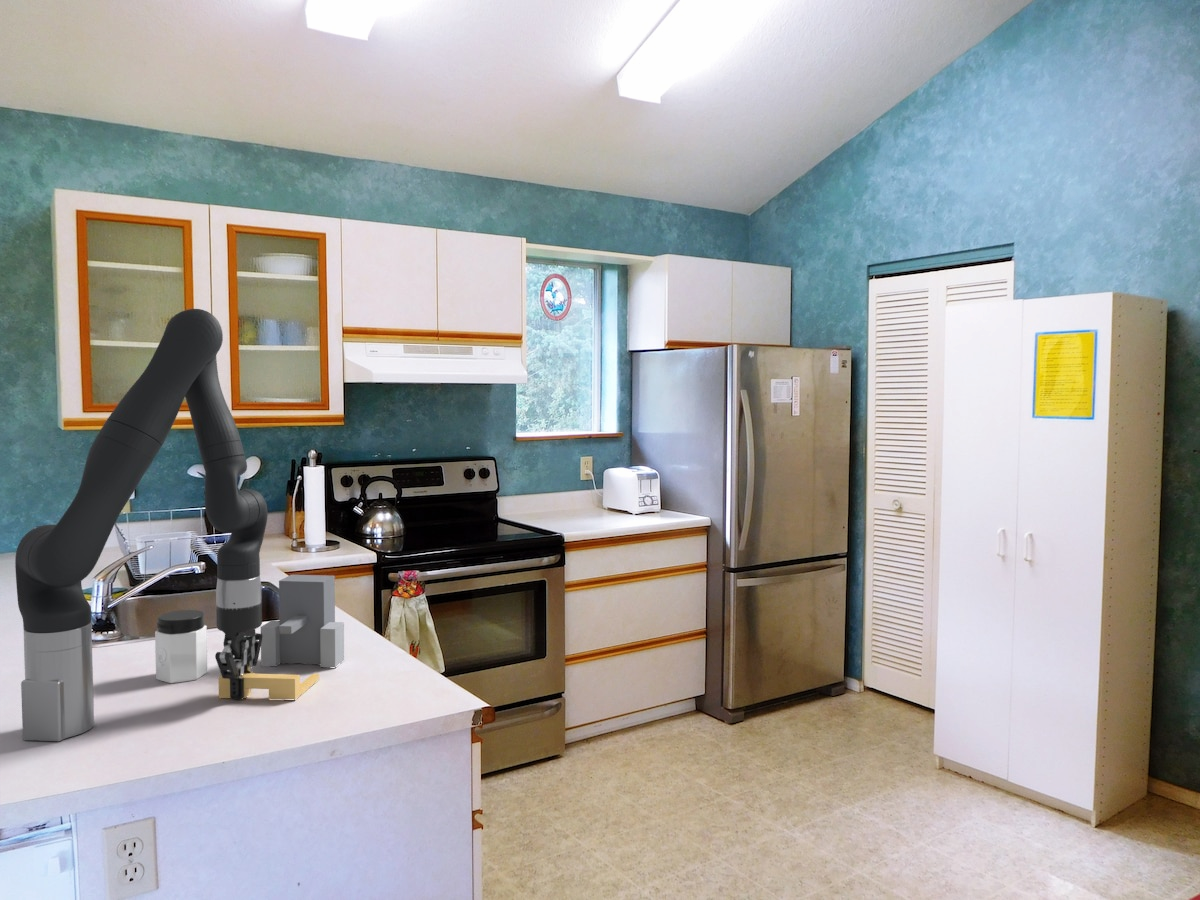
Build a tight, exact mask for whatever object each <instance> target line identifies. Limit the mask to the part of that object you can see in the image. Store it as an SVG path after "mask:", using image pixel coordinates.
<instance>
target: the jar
mask: <svg viewBox="0 0 1200 900" xmlns="http://www.w3.org/2000/svg"><path fill="white" fill-rule="evenodd" d="M156 627H157V630H155V632H154V639H155V645H154V649H155V651H154V652H155V678H156V680H158V681H161V682H165V683H168V684H176V683H185V682H191V681H197V680H198V679H200V678H201V677H202V676H204V675H205V674H207V673H208V671H209V670H208V628H207V627H208V625H206V624H205V613H204V612H203V611H201V610H197V609H182V610H174V611H168V612H163V613H162V614H160V615H158V616H157V619H156Z"/></svg>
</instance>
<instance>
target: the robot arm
mask: <svg viewBox="0 0 1200 900" xmlns="http://www.w3.org/2000/svg"><path fill="white" fill-rule="evenodd" d="M223 338H224V337H223V329H222V326H221V323H220V322H219V320H218V319H217V317H216V316H215V315H213V314H212V313H210V312H209V311H207V310H204V309H200V308H187V309H185V310H182V311H180V312H178V313H176V314H175V315H173V316H172V317H171V318H170V319H169V320H168V322H167V324H166V326H165V329H164V331H163V335H162V337H161V338H160V339H161V340H159V341H160V342H159V343H158V346H157V347H156V350H155V351H154V353H153V356H152V357H151V359H150V361H149V363H148V365H147V366H146V368H145V369H144V370H143V372H142V373H141V375H140V376H139V377H138V378H137V380H136V381H135V382H134V383H133V385H131V387H130V388H129V390H128V391H127V392H126V393H125V395H124V396H123V397H122V398H121V400H119V403H117V405H116V406H115V408H114V409H113V411H112V412H111V414H110V415H109V416H108V418H107V419H106V421H105V423H104V424H103V425H102V427H101V428H100V430H99V432H98V433H97V435H96V436H95V438H94V439H93V442H92V443H91V446H90V448H89V451H88V454H87V457H86V461H85V465H84V467H83V468H84V469H83V474H82V475H81V476H82V477H81V480H80V484H79V487H78V490H77V492H76V495H75V496H74V499H73V500H72V502H71V503H70V505H69V506H68V508H67V509H66V511H65V512H64V513H63V515H62V516H61V518H60V519H59V521H58V522H57V523H56V524H44V525H40V526H37V527H35V528H33V529H31V530H29V531H27V532H26V534H24V535H23V537H22V538H21V539H20V541H19V543H18V544H17V548H16V551H15V562H14V563H15V565H14V566H15V567H14V568H15V583H16V594H17V595H16V597H17V605H18V609H19V612H20V614H21V618H22V625H23V626H22V627H23V647H24V648H23V652H24V653H23V654H24V655H23V656H24V657H23V658H24V659H23V660H24V661H23V662H24V679H23V680H22V681H20V682H21V683H20V692H21V721H22V723H21V724H22V740H24V741H43V742H44V741H49V742H60V741H63V740H65V739H68V738H71V737H75V736H77V735H78V736H79V735H81V734H83V733H85V732H87V731H89V730H91V729H92V728H93V727H94V725H95V704H94V703H95V702H94V701H95V700H94V673H93V672H94V671H93V670H94V669H93V668H94V667H93V666H94V665H93V634H92V632H93V631H92V629H93V627H92V625H93V624H92V608H91V605H90V604H89V601H88V600H87V598H86V596H85V594H84V591H83V586H82V581H83V580H84V579H86V578H87V577H88V576H89V575H90V574H91V572H92V571H94V569H95V567H96V565H97V563H98V562H99V559H100V557H101V555H102V552H103V550H104V547H105V546H106V544H107V542H108V540H109V537H110V535H111V533H112V531H113V529H114V527H115V524H116V522H117V521H118V518H119V517H120V514H121V513H122V511H123V510H124V507H125V506H126V505H127V503H128V502H129V500H130V498H131V497H132V496H133V494H134V492H135V490H136V488H137V487H138V485H139V484H140V482H141V480H142V478H143V477H144V476H145V474H146V472H147V471H148V469H149V468H150V466H151V465H152V463H153V461H154V460H155V458H156V457H157V454H158V453H159V452H160V450H161V448H162V446H163V444H165V442H166V439H167V438H168V435H169V434H170V431H171V429H172V427H173V425H174V423H175V421H176V418H177V416H178V414H179V411H180V410H181V407H182V404H183V402H184V400H185V401H186V403H187V408H188V411H189V415H190V418H191V422H192V426H193V431H194V435H195V438H196V443H197V447H198V450H199V455H200V458H201V462H202V465H203V470H204V472H205V473H204V475H205V477H204V509H205V510H204V511H205V514H206V517H207V519H208V521H209V523H210V524H211V526H212V527H213V528H214V529H215V530H217V531H219V532H221V533H226V534H227V533H228V534H229V533H230V537H229V540H228V541H227V542H226V543H225V544H223V545H221V546H220V547H219V549H218V550H217V554H216V555H217V557H216V568H217V571H216V572H217V574H216V575H217V580H216V588H215V601H216V604H215V605H216V608H215V609H216V628H217V630H218V631H220V632H223V634H224V637H223V642H222V643H223V649H222V650H221V651H217V652H216V653H215V661H216V663H217V665H218V669H219V671H220V675H222V677H223V678H226V679H230V698H231V699H230V700H243V699H242V698H243V697H244V678H243V676H244V673H250V672H254V671H253V670H254V667H257V665H258V660H259V656H260V653H261V642H262V637H263V635H262V634H261V633H259V632H256V629H258V628H259V627H260V628H261V627H262V624H263V600H262V595H263V593H262V592H263V591H262V581H261V566H260V565H261V564H260V562H261V561H260V559H261V558H260V552H261V549H262V548H261V547H262V544H263V543H264V542H263V541H264V537H265V536H264V535H265V533H266V527H267V523H268V515H269V514H268V512H269V511H268V505H267V502H266V499H265V498H264V496H263V495H262V494H261V493H260V492H259V491H257V490H255V489H250V488H246V489H241V490H238V487H239V486H238V478H239V477H240V476H242V475H243V474H245V473H246V472H247V470H248V463H247V458H246V454H245V451H244V448H243V444H242V443H243V442H242V439H241V436H240V433H239V429H238V427H237V424H236V422H235V419H234V417H233V414H232V413H231V410H230V409H229V407H228V404H227V401H226V399H225V396H224V394H223V389H222V387H221V383H220V379H219V374H218V373H219V372H218V363H217V361H218V360H217V355H218V353H219V351H220V350H221V348H222V344H223Z"/></svg>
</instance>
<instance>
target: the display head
mask: <svg viewBox="0 0 1200 900" xmlns="http://www.w3.org/2000/svg"><path fill="white" fill-rule="evenodd" d="M335 577H336V576H335V575H327V574H326V575H325V574H324V575H322V574H321V575H318V574H316V575H315V574H290V575H288V576H285V578H282V579H280V580H279V581H278V599H279V600H278V605H279V606H278V609H279V611H278V613H279V614H278V617H279V620H273V619H272V620H270V621H268V622H267V623H264V625H261V626H260V634H262V635H263V637H262V642H261V647H260V664H261V667H270V666H276V665H277V666H278V664H279V663H303V664H302V665H312V664H321V665H320V668H321V667H336V666H337V665H338V664H339V663H341V662H342V661H343V660H344V661H345V622H344V621H343V622H339V621H336V603H335V602H336V601H335V600H336V596H335V595H336V591H335V590H336V587H335V586H336V584H335V582H336V581H335V579H336V578H335ZM344 661H343V662H344ZM343 662H342V663H343ZM304 663H306V664H304ZM342 663H341V664H342ZM279 665H280V664H279ZM277 666H276V667H277ZM336 668H337V667H336Z"/></svg>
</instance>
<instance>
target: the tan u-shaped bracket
mask: <svg viewBox="0 0 1200 900" xmlns="http://www.w3.org/2000/svg"><path fill="white" fill-rule="evenodd" d="M243 678H244V697H243V698H246V697H247V696H249V695H250V694H251V695H252V693H251V692H252V690H253V689H255V690H256V689H257V690H268V700H269V699H294V700H295V699H296V698H297V697H299V696H300V695H301V694H302V693H304V692H305V691H306V690H307V689H308V688H309V687H310V686H312V685H313V684H314V683H315V682H316V681H317V680H318V679H319V680H320V673H312V674H311V675H309V676H308V677H307V678H306V679H305V680H303V681H302V682H301V675H300V674H282V673H255V672H254V671H252V672H250V673H244V676H243ZM319 680H318V681H319ZM318 681H317V682H318ZM317 682H316V683H317ZM316 683H315V684H316ZM315 684H314V685H315ZM314 685H313V686H314ZM313 686H312V687H313ZM310 688H311V687H310ZM310 688H309V689H310ZM309 689H308V690H309ZM308 690H307V691H308ZM307 691H306V692H307ZM306 692H305V693H306ZM305 693H304V694H305ZM251 695H250V696H251ZM302 695H303V694H302ZM302 695H301V696H302ZM250 696H249V697H250ZM301 696H300V697H301ZM300 697H299V698H300ZM221 698H230V679H226V678H223V677H222V675H221V674H220V675H219V676H218V699H221ZM247 698H248V697H247ZM247 698H246V699H247Z"/></svg>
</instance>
